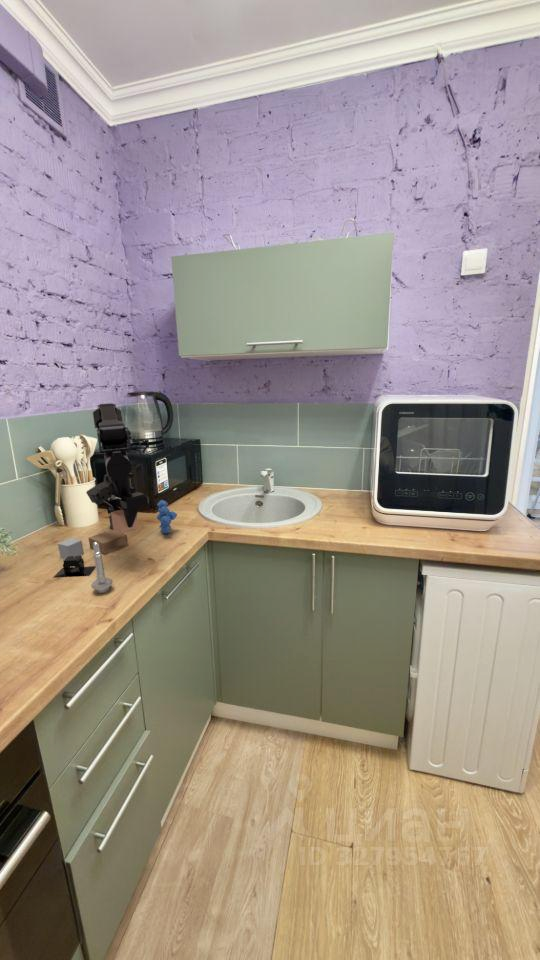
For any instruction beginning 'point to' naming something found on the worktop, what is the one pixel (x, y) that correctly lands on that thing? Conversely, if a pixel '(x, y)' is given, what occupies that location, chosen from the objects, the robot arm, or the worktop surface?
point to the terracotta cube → (122, 522)
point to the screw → (100, 572)
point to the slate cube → (70, 548)
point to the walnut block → (109, 541)
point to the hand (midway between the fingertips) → (125, 524)
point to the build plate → (74, 568)
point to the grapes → (165, 516)
